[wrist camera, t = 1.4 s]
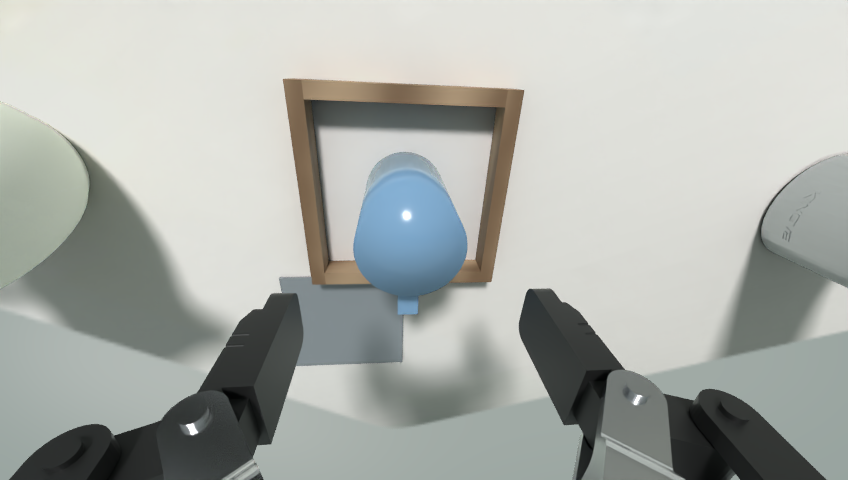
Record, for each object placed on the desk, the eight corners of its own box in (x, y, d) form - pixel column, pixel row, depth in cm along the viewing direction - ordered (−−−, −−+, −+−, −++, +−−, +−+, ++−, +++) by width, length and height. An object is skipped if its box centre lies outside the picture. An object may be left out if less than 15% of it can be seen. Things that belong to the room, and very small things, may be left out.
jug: (365, 151, 22) (349, 195, 14) (444, 153, 22) (473, 197, 14) (369, 252, 25) (358, 333, 18) (437, 252, 26) (457, 330, 18)
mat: (403, 275, 27) (403, 277, 27) (402, 360, 31) (401, 361, 31) (279, 277, 26) (279, 278, 26) (297, 364, 30) (296, 365, 30)
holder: (514, 89, 21) (524, 90, 19) (485, 269, 27) (491, 282, 26) (291, 78, 19) (282, 79, 18) (317, 271, 26) (312, 284, 24)
